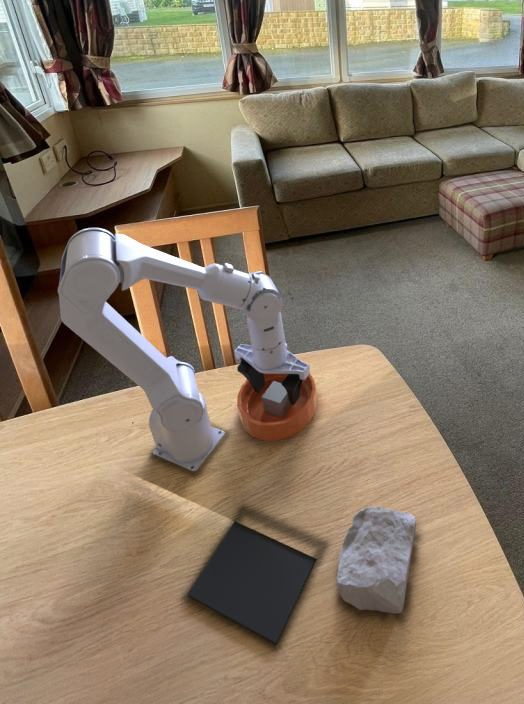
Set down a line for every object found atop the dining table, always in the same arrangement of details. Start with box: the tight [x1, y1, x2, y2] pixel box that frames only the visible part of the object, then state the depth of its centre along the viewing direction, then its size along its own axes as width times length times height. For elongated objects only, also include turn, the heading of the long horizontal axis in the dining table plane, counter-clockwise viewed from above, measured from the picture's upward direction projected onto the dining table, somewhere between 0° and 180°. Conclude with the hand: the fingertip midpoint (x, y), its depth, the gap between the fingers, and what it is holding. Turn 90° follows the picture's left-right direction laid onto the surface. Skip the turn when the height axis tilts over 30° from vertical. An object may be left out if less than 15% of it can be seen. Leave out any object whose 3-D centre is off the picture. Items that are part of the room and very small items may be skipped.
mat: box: [187, 520, 317, 645], centre depth 67 cm, size 14×12×1 cm
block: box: [262, 381, 292, 418], centre depth 90 cm, size 4×4×4 cm
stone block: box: [336, 505, 417, 615], centre depth 67 cm, size 12×5×10 cm
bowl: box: [236, 372, 318, 442], centre depth 90 cm, size 14×14×4 cm
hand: (277, 394), depth 90 cm, fingers open, 7 cm apart
